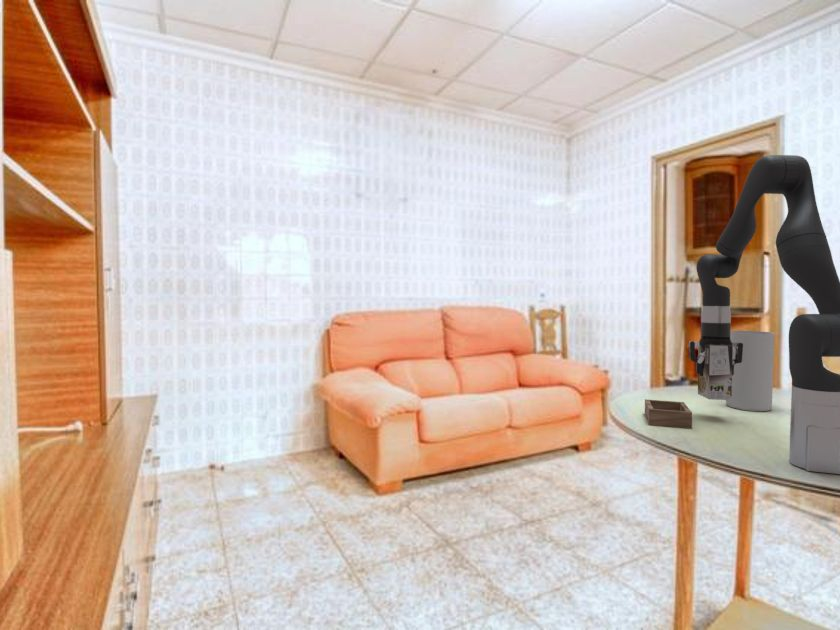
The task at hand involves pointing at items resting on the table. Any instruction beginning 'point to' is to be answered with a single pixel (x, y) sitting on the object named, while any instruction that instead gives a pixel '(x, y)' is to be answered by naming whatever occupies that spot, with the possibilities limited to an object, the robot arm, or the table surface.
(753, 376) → the cylinder vase
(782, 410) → the table surface
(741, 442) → the table surface
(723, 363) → the coffee box
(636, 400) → the table surface
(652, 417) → the brown wooden tray
